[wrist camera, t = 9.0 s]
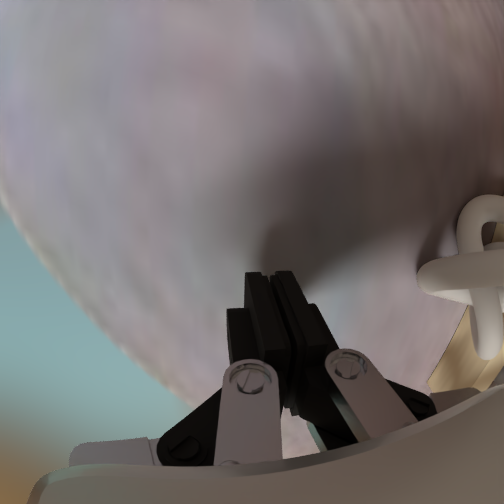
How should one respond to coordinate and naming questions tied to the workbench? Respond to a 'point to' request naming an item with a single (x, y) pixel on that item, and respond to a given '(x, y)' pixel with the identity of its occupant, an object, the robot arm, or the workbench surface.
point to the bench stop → (468, 356)
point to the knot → (474, 274)
